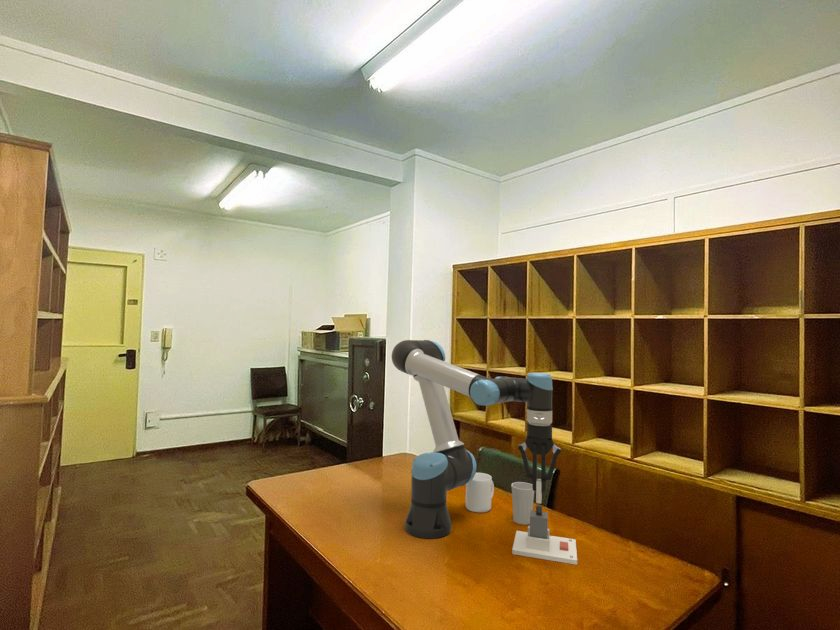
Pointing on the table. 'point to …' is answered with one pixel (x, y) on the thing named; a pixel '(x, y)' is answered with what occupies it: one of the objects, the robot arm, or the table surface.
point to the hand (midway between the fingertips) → (538, 501)
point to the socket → (545, 547)
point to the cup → (522, 502)
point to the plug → (538, 523)
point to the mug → (479, 493)
